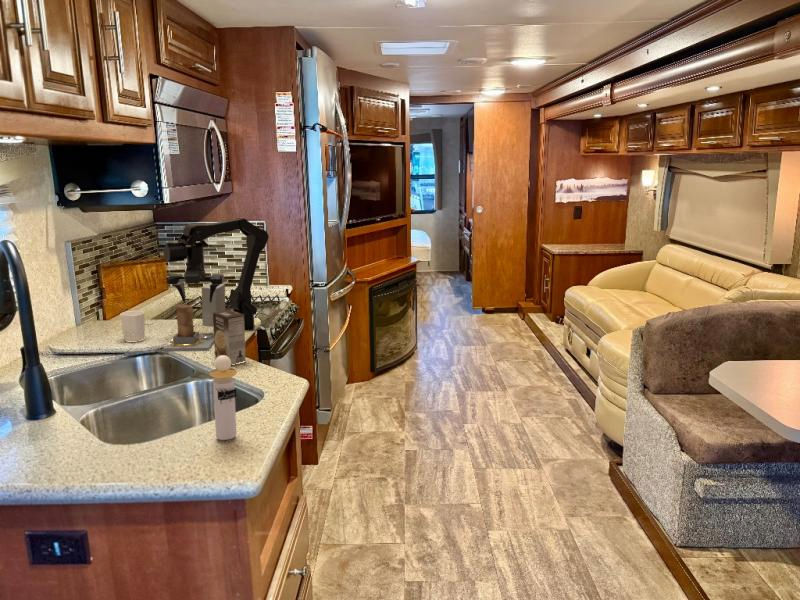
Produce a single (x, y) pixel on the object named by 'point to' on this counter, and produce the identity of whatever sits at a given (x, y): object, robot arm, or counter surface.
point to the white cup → (133, 325)
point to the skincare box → (212, 303)
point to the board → (200, 347)
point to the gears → (190, 340)
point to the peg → (185, 321)
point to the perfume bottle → (224, 398)
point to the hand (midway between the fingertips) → (197, 302)
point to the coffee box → (229, 335)
